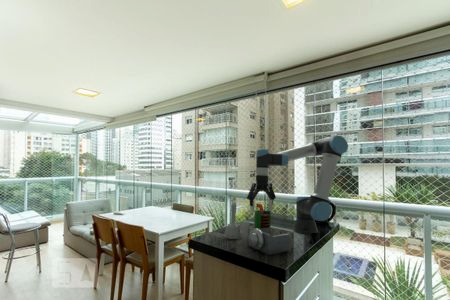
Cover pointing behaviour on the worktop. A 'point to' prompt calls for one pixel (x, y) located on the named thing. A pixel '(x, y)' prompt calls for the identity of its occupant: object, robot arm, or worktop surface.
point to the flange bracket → (268, 241)
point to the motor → (262, 217)
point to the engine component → (233, 225)
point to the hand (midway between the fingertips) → (261, 211)
